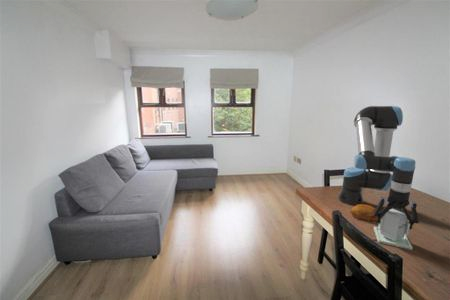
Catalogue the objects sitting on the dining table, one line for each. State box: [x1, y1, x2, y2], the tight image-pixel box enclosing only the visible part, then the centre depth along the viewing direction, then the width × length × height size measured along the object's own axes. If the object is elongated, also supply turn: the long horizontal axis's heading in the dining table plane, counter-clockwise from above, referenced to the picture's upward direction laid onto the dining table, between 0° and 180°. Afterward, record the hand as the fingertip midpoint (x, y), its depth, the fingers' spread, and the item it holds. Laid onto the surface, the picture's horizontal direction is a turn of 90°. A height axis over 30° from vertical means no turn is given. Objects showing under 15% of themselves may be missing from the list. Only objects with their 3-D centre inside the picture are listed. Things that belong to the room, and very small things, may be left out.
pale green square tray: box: [373, 226, 413, 251], centre depth 108 cm, size 13×13×1 cm
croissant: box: [350, 203, 381, 222], centre depth 129 cm, size 14×16×8 cm
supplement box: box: [380, 208, 409, 241], centre depth 106 cm, size 7×7×13 cm
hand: (392, 231), depth 107 cm, fingers closed on supplement box, 10 cm apart
